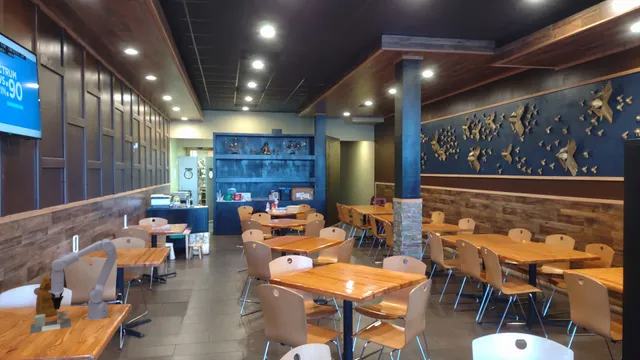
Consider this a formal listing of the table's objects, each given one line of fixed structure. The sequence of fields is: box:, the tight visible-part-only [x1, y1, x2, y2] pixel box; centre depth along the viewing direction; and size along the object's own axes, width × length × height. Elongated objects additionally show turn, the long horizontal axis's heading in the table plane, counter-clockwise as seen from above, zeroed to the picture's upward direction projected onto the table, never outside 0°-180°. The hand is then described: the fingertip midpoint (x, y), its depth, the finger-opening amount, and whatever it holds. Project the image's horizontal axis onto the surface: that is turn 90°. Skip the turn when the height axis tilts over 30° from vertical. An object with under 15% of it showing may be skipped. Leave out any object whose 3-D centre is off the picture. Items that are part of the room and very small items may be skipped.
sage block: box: [34, 314, 46, 327], centre depth 221 cm, size 5×5×5 cm
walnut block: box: [56, 310, 68, 324], centre depth 226 cm, size 5×5×5 cm
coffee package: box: [35, 275, 58, 318], centre depth 238 cm, size 10×12×22 cm
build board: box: [29, 318, 72, 335], centre depth 220 cm, size 18×15×1 cm
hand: (57, 307), depth 224 cm, fingers open, 7 cm apart
